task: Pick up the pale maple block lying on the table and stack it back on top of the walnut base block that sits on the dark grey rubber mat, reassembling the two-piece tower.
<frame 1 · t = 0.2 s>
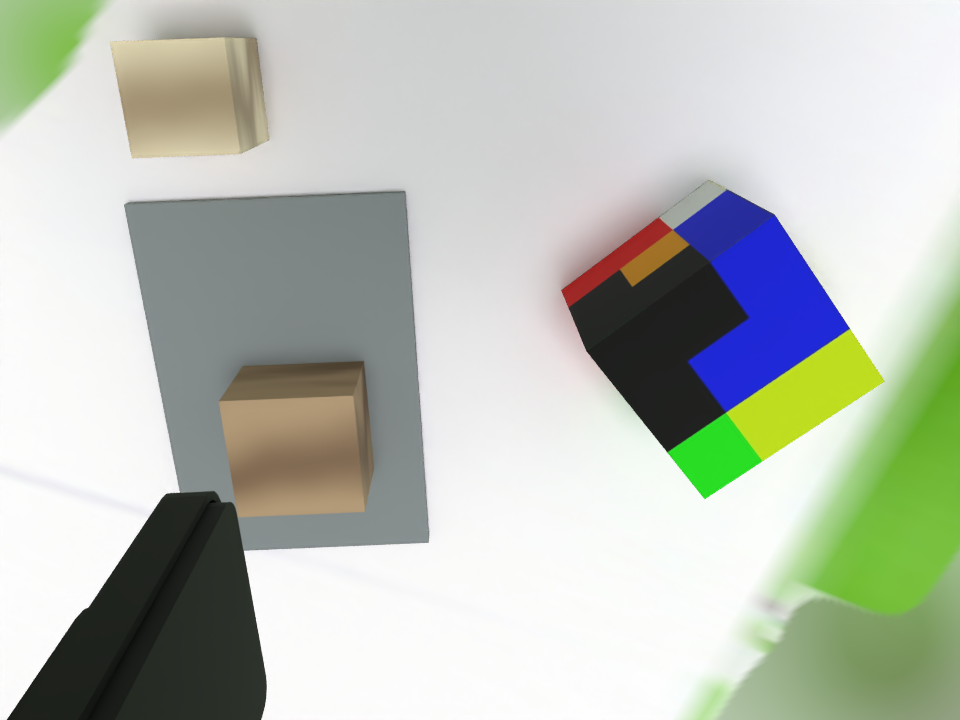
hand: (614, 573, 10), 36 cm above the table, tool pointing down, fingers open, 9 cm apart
walnut block: (310, 418, 48), point 1 cm above the table, touching mat
puzzle toy: (681, 301, 47), on the table
maple block: (214, 92, 42), on the table
mat: (291, 384, 48), on the table
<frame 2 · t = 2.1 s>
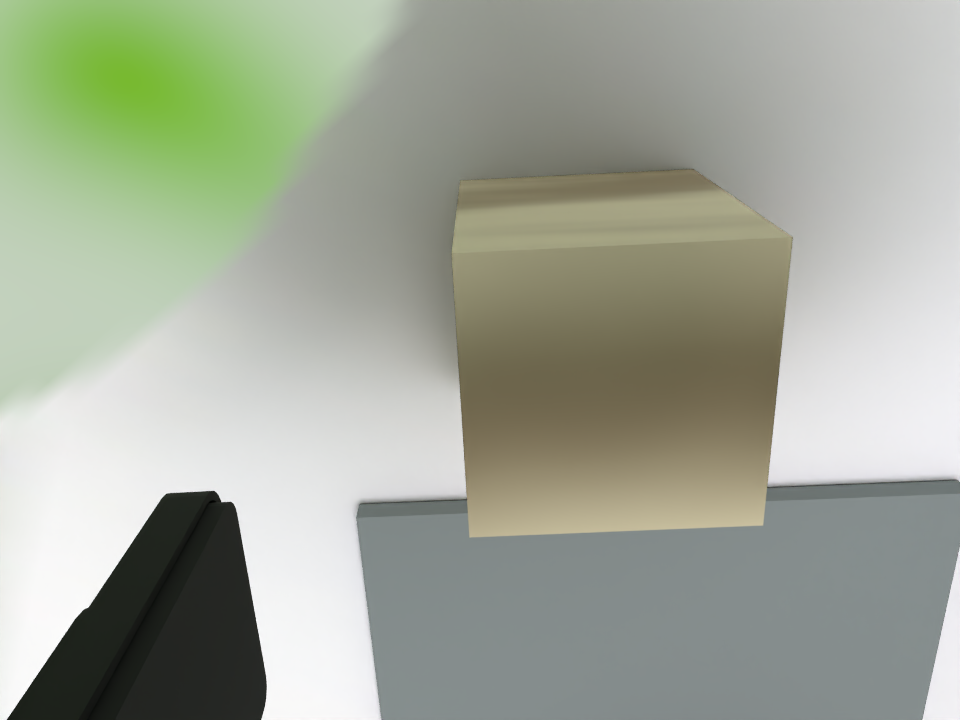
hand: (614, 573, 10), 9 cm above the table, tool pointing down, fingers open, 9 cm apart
maple block: (576, 285, 18), on the table
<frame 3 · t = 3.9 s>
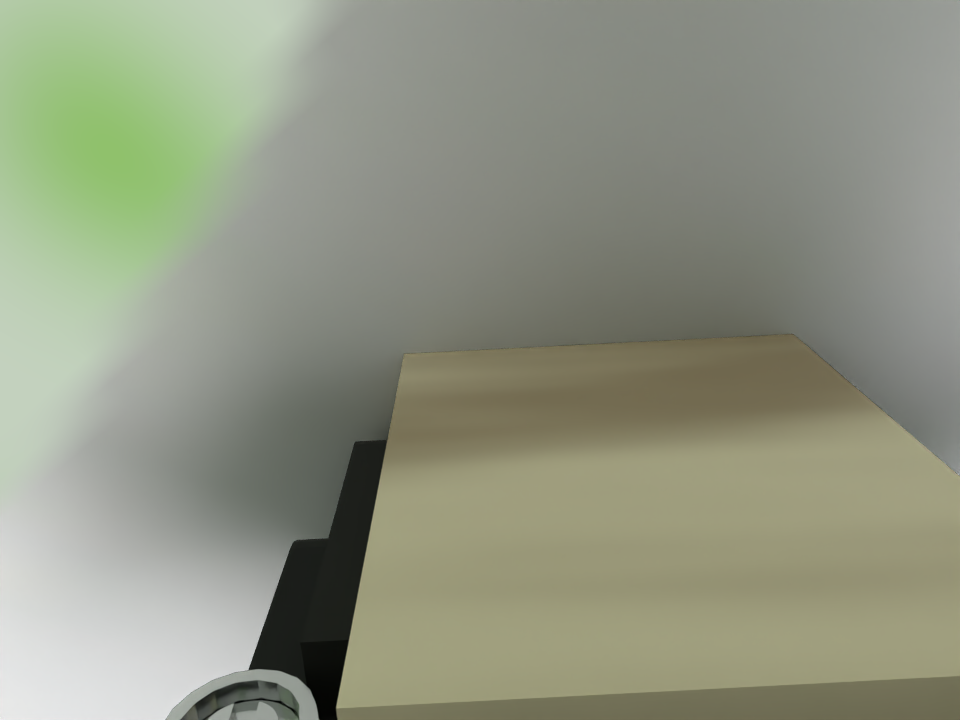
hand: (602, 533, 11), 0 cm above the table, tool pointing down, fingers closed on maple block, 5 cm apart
maple block: (597, 512, 11), on the table, touching gripper
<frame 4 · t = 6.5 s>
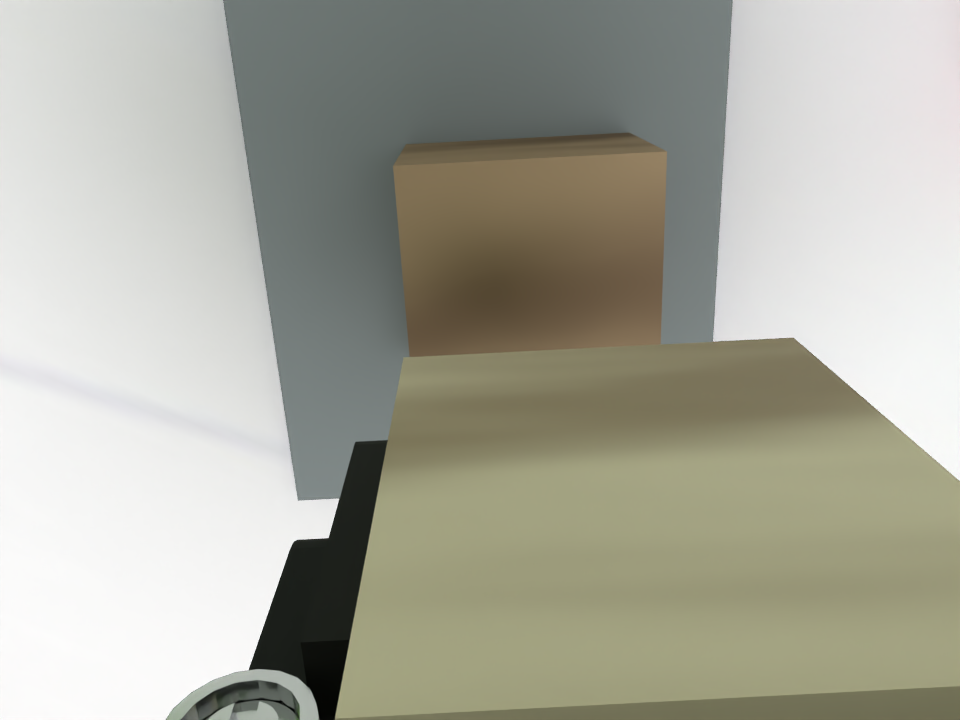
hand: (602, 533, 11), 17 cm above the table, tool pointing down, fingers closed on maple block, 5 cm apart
walnut block: (521, 248, 27), point 1 cm above the table, touching mat
maple block: (597, 516, 11), point 17 cm above the table, touching gripper
mat: (487, 185, 26), on the table
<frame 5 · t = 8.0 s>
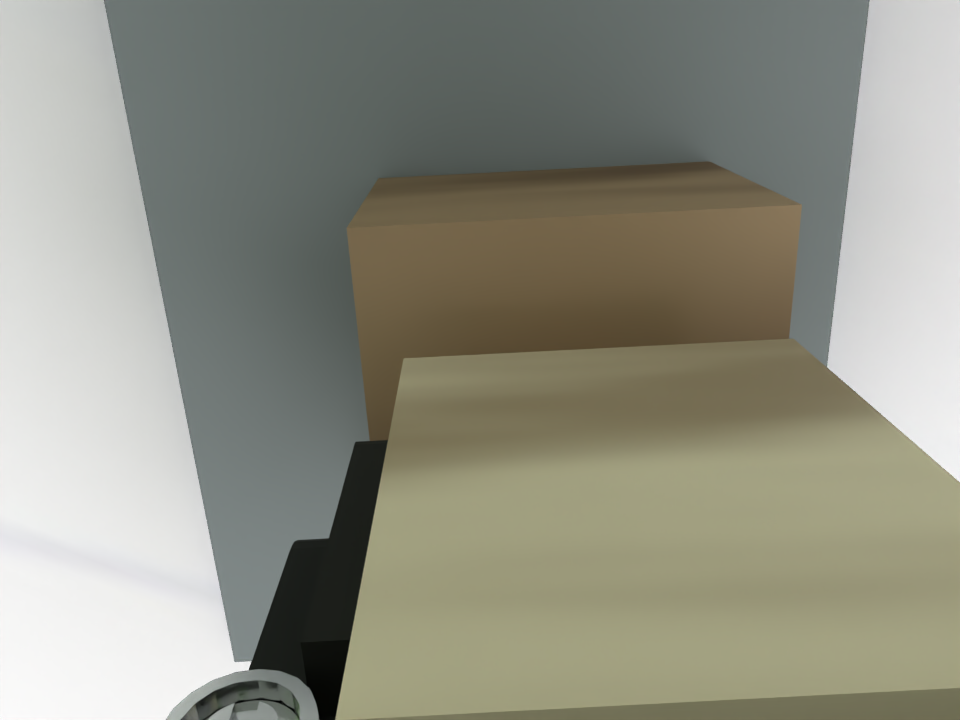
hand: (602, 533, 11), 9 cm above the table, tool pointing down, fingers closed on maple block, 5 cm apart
walnut block: (546, 326, 18), point 1 cm above the table, touching mat
maple block: (597, 517, 11), point 8 cm above the table, touching gripper
mat: (498, 236, 18), on the table
when the fingers open (8 cm above the table, at t = 9.1 s): maple block drops 1 cm, resting on walnut block.
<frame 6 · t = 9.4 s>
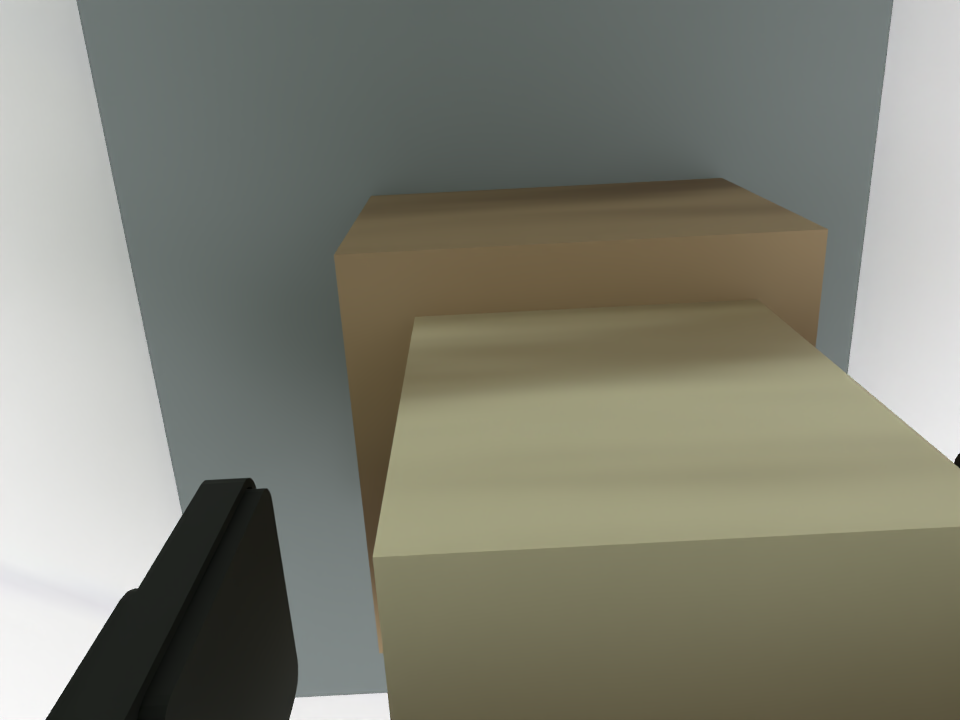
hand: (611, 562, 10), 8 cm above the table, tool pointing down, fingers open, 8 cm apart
walnut block: (549, 351, 17), point 1 cm above the table, touching maple block, mat
maple block: (586, 460, 13), point 6 cm above the table, touching walnut block
mat: (498, 256, 17), on the table
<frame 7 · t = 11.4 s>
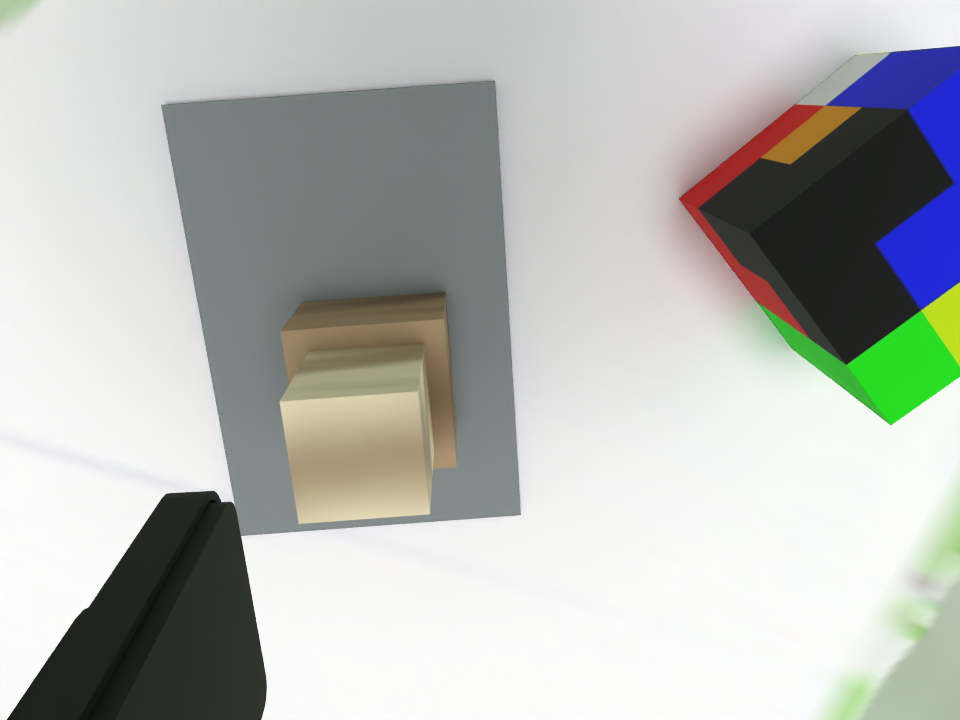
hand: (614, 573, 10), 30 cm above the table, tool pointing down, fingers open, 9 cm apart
walnut block: (381, 365, 40), point 1 cm above the table, touching maple block, mat
puzzle toy: (820, 209, 39), on the table
maple block: (372, 400, 36), point 6 cm above the table, touching walnut block
mat: (358, 324, 40), on the table
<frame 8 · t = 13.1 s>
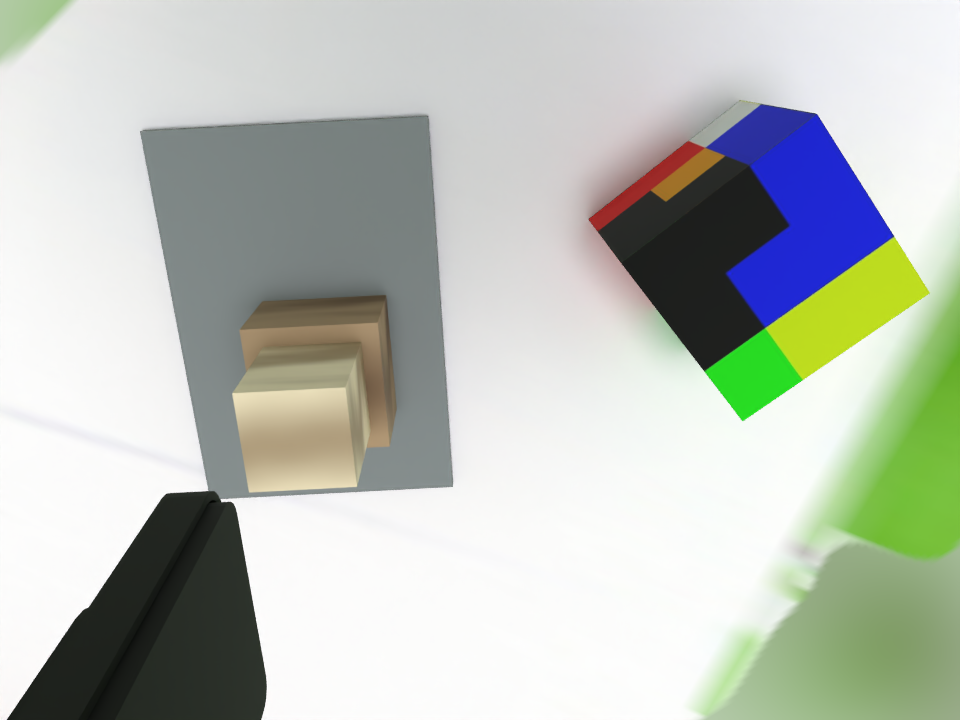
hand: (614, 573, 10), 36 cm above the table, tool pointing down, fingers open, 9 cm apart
walnut block: (331, 356, 47), point 1 cm above the table, touching maple block, mat
puzzle toy: (711, 230, 46), on the table
maple block: (318, 389, 42), point 6 cm above the table, touching walnut block
mat: (311, 321, 47), on the table
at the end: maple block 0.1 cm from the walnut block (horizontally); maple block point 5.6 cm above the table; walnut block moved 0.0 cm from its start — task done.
